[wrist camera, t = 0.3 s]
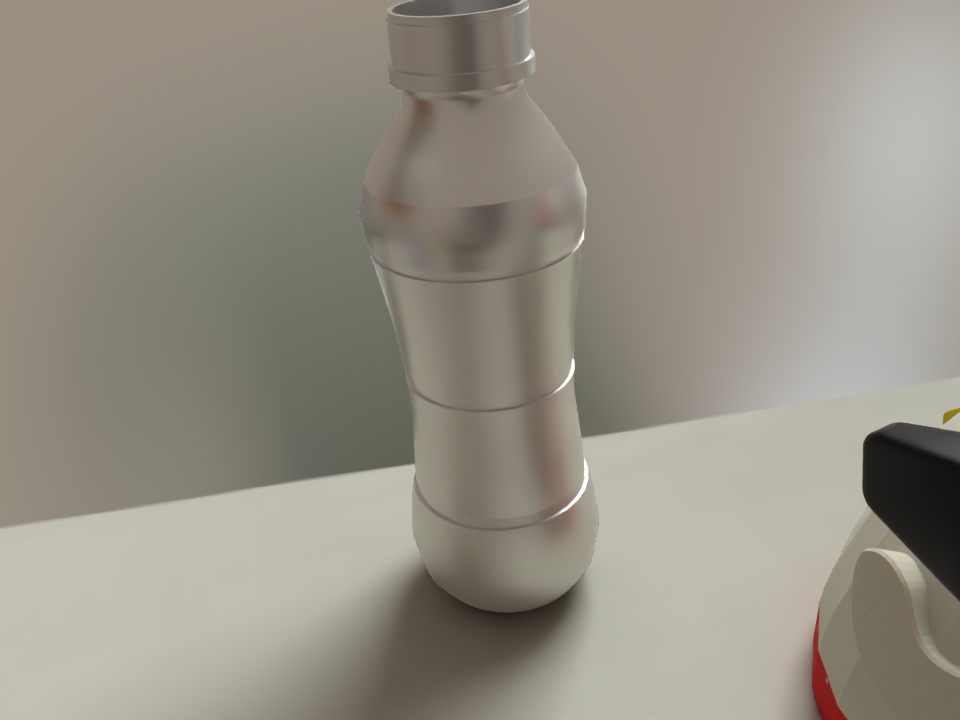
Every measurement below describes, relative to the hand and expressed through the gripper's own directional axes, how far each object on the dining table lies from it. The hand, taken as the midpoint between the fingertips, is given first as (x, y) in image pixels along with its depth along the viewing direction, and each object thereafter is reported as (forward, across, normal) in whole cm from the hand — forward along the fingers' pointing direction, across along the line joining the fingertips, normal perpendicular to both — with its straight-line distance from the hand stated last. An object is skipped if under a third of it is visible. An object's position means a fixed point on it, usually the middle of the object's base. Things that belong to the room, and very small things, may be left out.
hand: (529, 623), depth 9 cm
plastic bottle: (+18, -5, +16) cm, 24 cm away
